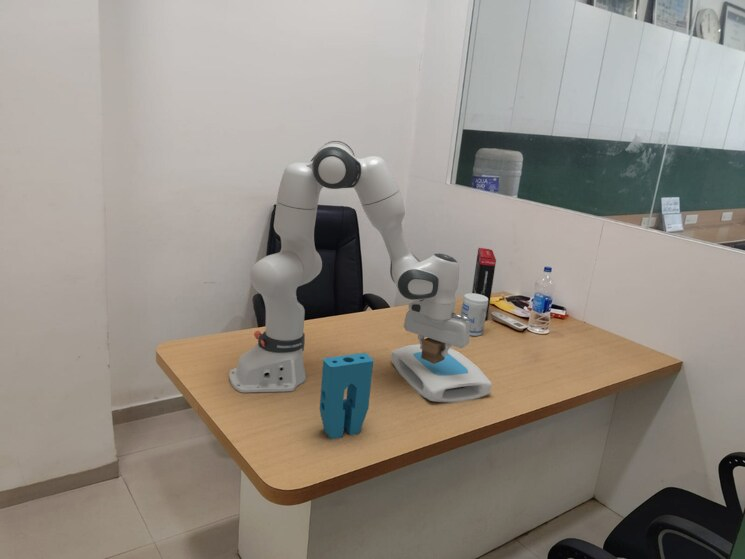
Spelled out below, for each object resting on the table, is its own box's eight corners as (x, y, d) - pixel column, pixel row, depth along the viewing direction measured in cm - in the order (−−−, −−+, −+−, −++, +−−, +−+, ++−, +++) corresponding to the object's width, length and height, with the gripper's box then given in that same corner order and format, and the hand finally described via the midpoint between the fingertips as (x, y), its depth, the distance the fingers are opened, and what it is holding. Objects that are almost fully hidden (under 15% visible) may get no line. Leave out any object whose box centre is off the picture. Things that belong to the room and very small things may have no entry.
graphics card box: (487, 321, 228) (498, 258, 220) (471, 319, 228) (481, 256, 220) (483, 307, 244) (493, 249, 236) (468, 305, 245) (477, 247, 237)
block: (358, 421, 144) (365, 352, 138) (367, 431, 140) (374, 360, 134) (316, 430, 138) (322, 358, 133) (324, 440, 134) (330, 367, 128)
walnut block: (434, 363, 160) (436, 345, 158) (421, 357, 163) (423, 339, 162) (444, 359, 163) (446, 341, 162) (431, 353, 167) (433, 335, 165)
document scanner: (444, 358, 189) (446, 341, 187) (490, 398, 164) (494, 379, 162) (389, 363, 180) (391, 346, 178) (430, 406, 156) (432, 387, 154)
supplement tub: (454, 332, 212) (460, 296, 208) (462, 325, 220) (467, 291, 216) (478, 339, 208) (484, 302, 204) (485, 331, 216) (491, 296, 212)
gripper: (476, 315, 156) (469, 359, 160) (414, 298, 166) (409, 339, 170) (467, 321, 151) (460, 366, 155) (404, 302, 161) (399, 345, 165)
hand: (433, 352), depth 163 cm, fingers closed on walnut block, 5 cm apart
